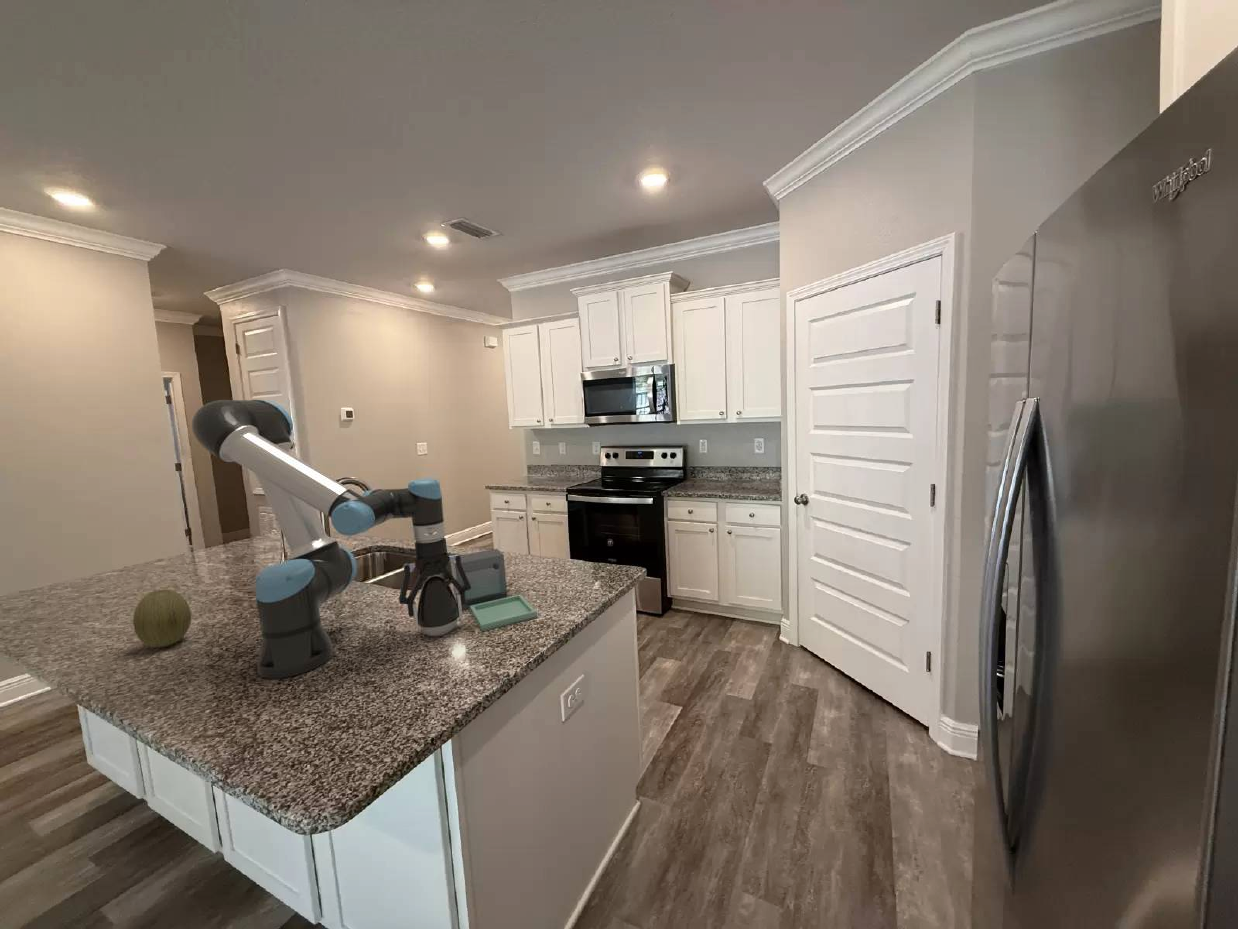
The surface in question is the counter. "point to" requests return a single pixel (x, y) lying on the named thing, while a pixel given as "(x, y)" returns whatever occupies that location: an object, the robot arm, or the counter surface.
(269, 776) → the counter surface
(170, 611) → the fruit
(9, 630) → the counter surface
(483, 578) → the unit
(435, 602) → the pump dispenser
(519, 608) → the tray
